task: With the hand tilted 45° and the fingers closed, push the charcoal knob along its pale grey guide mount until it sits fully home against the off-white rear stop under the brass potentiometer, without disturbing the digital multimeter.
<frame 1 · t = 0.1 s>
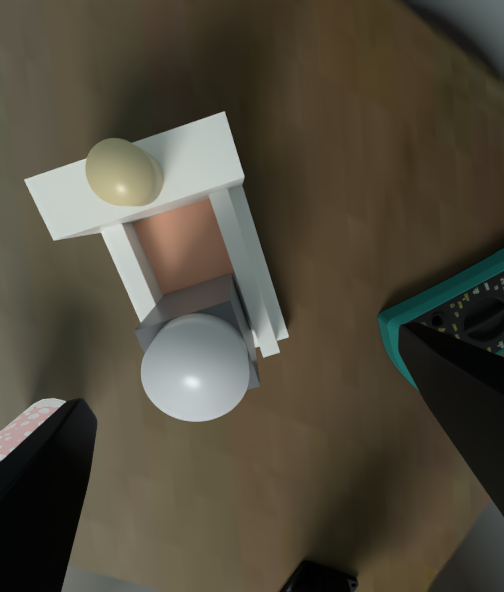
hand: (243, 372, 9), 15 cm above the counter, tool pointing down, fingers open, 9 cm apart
knob mount: (188, 247, 23), on the counter
knob: (204, 338, 19), point 6 cm above the counter, slide at 5.0 cm
beverage cup: (56, 420, 27), on the counter
digital multimeter: (467, 306, 26), on the counter
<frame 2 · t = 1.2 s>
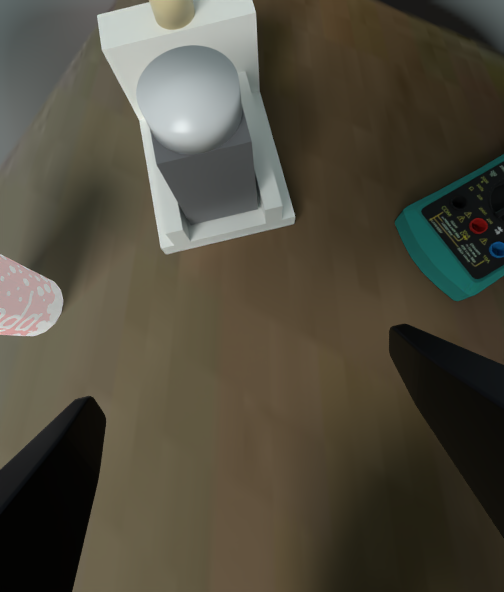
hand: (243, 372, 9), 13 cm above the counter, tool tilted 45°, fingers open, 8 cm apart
knob mount: (208, 144, 26), on the counter
knob: (205, 147, 19), point 6 cm above the counter, slide at 5.0 cm
beverage cup: (35, 306, 24), on the counter
digital multimeter: (496, 218, 24), on the counter
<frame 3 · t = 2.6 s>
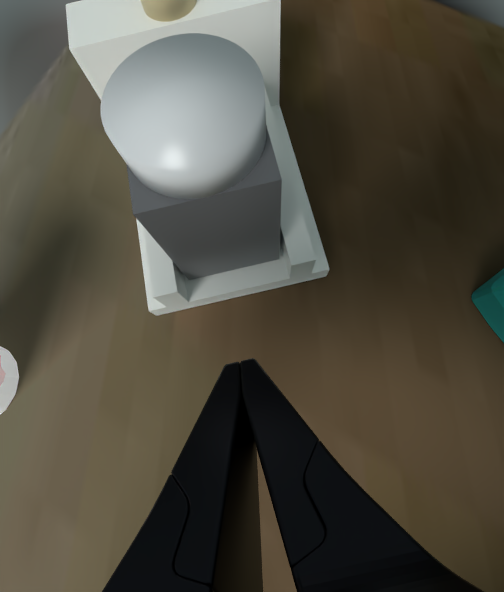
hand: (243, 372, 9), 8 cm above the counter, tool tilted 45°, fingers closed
knob mount: (214, 171, 21), on the counter
knob: (210, 182, 14), point 6 cm above the counter, slide at 5.0 cm
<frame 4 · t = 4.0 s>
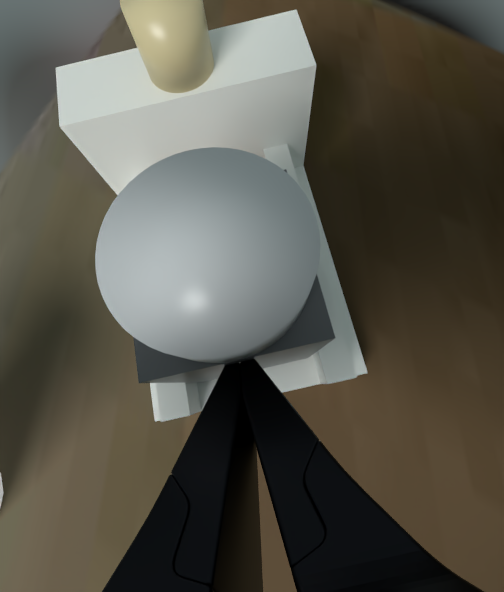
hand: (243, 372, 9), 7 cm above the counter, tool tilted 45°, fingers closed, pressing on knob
knob mount: (228, 240, 18), on the counter
knob: (231, 294, 11), point 6 cm above the counter, slide at 4.9 cm, touching gripper
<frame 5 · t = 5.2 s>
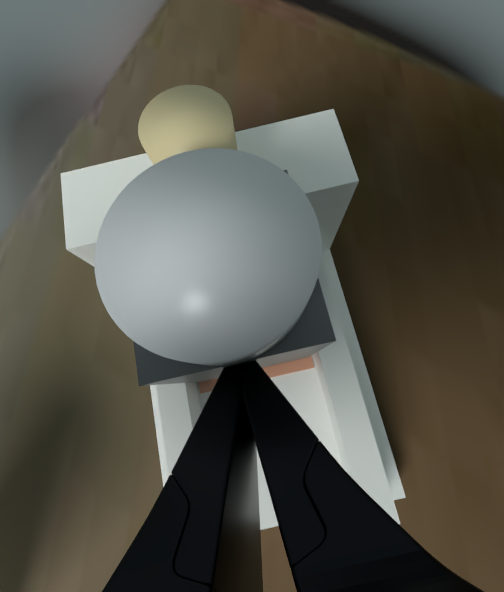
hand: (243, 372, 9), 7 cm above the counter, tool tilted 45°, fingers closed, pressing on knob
knob mount: (247, 328, 17), on the counter
knob: (231, 295, 11), point 6 cm above the counter, slide at -0.3 cm, touching gripper, knob mount
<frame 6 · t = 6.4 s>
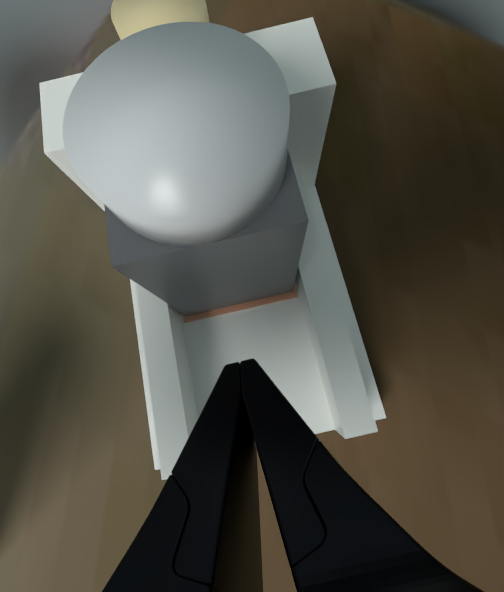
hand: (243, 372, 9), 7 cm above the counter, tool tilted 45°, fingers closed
knob mount: (232, 265, 17), on the counter
knob: (211, 209, 11), point 6 cm above the counter, slide at -0.1 cm
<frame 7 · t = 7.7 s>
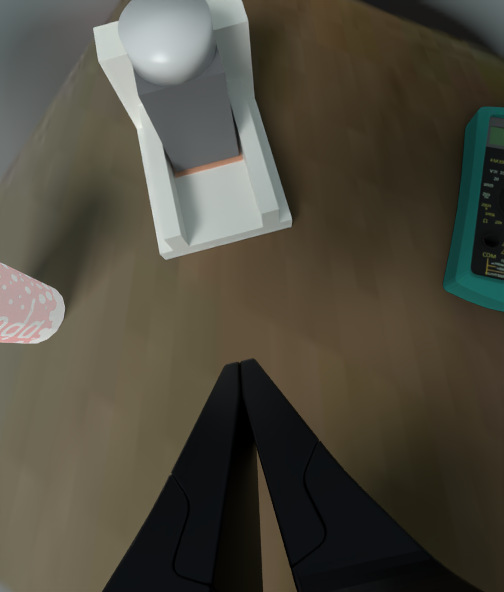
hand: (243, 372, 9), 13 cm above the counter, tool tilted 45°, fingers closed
knob mount: (205, 150, 27), on the counter
knob: (186, 90, 21), point 6 cm above the counter, slide at -0.1 cm
beverage cup: (38, 314, 25), on the counter
digital multimeter: (500, 216, 24), on the counter
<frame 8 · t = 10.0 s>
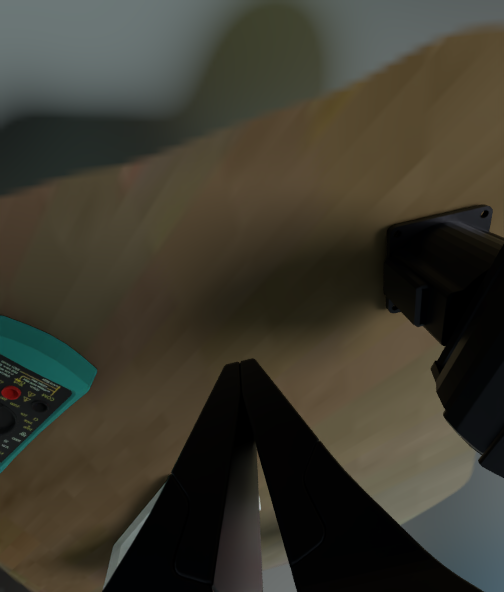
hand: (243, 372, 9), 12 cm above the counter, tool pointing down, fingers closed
knob mount: (178, 528, 35), on the counter
digital multimeter: (6, 392, 24), on the counter
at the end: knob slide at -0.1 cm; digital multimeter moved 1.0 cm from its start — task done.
